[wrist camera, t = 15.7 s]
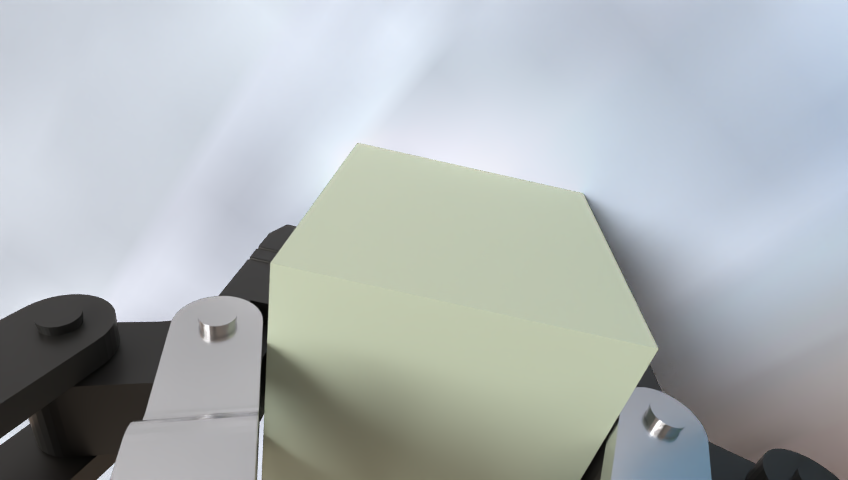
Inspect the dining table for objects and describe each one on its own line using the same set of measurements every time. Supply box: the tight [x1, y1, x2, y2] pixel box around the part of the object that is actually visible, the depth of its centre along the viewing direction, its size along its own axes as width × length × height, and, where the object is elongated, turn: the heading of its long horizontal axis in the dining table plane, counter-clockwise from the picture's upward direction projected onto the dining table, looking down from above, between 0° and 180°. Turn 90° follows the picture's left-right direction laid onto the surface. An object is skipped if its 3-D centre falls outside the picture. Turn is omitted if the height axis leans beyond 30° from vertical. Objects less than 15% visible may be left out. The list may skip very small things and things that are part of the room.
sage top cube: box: [262, 143, 658, 480], centre depth 9 cm, size 5×5×5 cm
